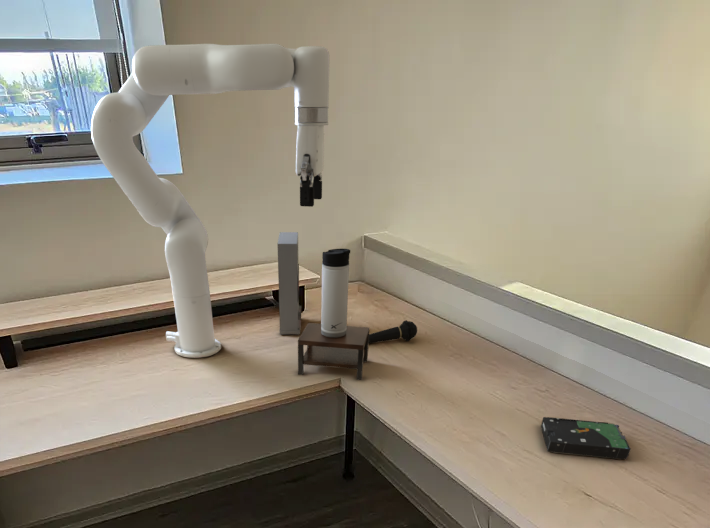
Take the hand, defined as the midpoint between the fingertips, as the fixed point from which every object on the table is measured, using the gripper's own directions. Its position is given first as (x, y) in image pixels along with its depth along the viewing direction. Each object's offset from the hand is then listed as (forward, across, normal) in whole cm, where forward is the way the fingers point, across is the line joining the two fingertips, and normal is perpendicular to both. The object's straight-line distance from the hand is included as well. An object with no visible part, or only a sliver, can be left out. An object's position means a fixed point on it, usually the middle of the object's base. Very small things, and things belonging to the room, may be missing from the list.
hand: (311, 202), depth 133 cm
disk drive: (+36, +38, +64) cm, 83 cm away
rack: (+36, +12, +8) cm, 39 cm away
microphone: (+36, -8, +19) cm, 42 cm away
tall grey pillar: (+36, -14, -9) cm, 40 cm away
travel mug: (+28, +12, +8) cm, 31 cm away
